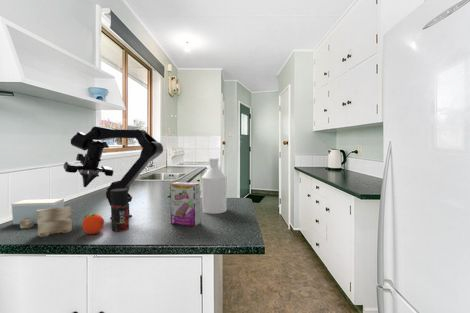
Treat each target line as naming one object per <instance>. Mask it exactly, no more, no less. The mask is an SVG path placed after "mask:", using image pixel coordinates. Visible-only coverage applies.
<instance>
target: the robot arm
mask: <svg viewBox="0 0 470 313" xmlns="http://www.w3.org/2000/svg"><path fill="white" fill-rule="evenodd" d="M113 139H135V140H137V142H138V144H139V146H141V148H142V149H141V151H140V155H139V157H138V159H136V161H135V162H134V163H133V164H132V165H131V167H130V168H129V169H128V170H127V172H126V173H125V174H124V176H122V178H121V179H120V180H115V181H112V182H111V183H110V184H109V186H108V187H107V188H106V192H105V197H106V199H107V200H108V204H109V206H110V207H111V194H110V190H113V189H122V188H124V189H128V213H129V218H131V217H133V214H130V203H129V202H132V200H133V196H132V195H131V194H130V193H129V191H130V187H131V185H132V184H133V183H134V182H135V180H137V178H138V177H139V175H140V174H141V173H142V172H143V171H144V169H145V168H146V167H147V166H148V165H149V164H150V163H151V162H152V161H154V160H156V158H158V157H159V156H161V155H162V154H163V151H164V146H163V144H162V143H161V142H159V141H157V140H156V139H155V138H154V137H152V136H151V134H149V133H148V131H146V130H145V129H140V128H138V129H114V128H110V127H106V126H105V127H104V126H92V127H91V129H90V131H89V132H87V133H84V132H83V131H82V132H81V131H77V132H76V134H74V136H72V137H71V139H70V145H71V146H73V147H74V148H77V149H80V150H82V151H86V153H85V154H83V153H77V155H76V158H75V159H76V161H77V162H80V163H79V164H81V165H78V164H77V162H72V161H66V162H64V164H63V169H64V171H65V172H66V173H71V174H72V173H73V174H74V173H77V172H78V173H79V175H80V176H82V177H81V178H82V185H83V186H82V187H83V188H87V187H88V186H89V184H90V183H91V182H93V180H95V179H96V178H97V177H100V175H99V173H103V174H104V175H105V176H106V177H113V175H114V170H113V168H111V166H109V165H108V166H107V165H101V167H99V165H100V162H101V161H102V158H101V157H102V154H103V151H104V149H108V148H110V146H109V145H108V143H107V141H108V140H113ZM110 219H111V216H110Z"/></svg>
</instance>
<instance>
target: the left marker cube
mask: <svg viewBox="0 0 470 313" xmlns="http://www.w3.org/2000/svg"><path fill="white" fill-rule="evenodd" d="M34 226H35V224H34V218H25V219H23V220H20V224H19V228H20V229H30V228H31V227H34Z"/></svg>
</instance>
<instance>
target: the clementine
mask: <svg viewBox="0 0 470 313" xmlns="http://www.w3.org/2000/svg"><path fill="white" fill-rule="evenodd" d="M81 224H82V225H81V226H82V230H83V231H84V233H87V234H89V235H95V234H97V233H99V232H100V231H101V230H102V229H103V228H104V226H105V219H104V218H103V217H102V216H101V215H100V214H97V213H90V214H87V215H85V216H84V218H83V221H82V222H81Z"/></svg>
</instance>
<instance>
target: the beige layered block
mask: <svg viewBox="0 0 470 313" xmlns="http://www.w3.org/2000/svg"><path fill="white" fill-rule="evenodd" d="M71 206H72V205H67V206H64V207H58V208H50V209H42V210H37V222H38V224H37V236H38V237H40V238H44V237H49V235H53V234H58V233H62V234H65V233H71V231H73V225H72V224H73V223H72V208H71Z"/></svg>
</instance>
